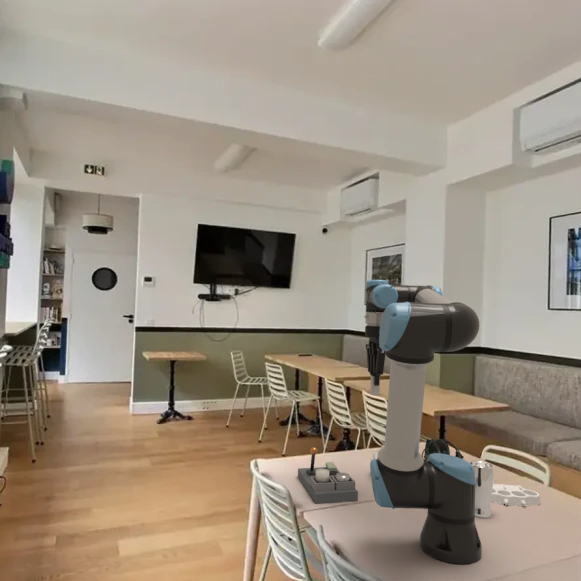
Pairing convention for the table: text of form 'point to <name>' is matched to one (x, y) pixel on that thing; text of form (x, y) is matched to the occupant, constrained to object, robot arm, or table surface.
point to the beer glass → (483, 488)
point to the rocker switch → (331, 466)
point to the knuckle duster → (513, 495)
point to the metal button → (342, 477)
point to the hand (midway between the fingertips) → (374, 394)
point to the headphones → (439, 448)
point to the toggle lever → (313, 457)
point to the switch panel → (327, 487)
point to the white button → (322, 475)
